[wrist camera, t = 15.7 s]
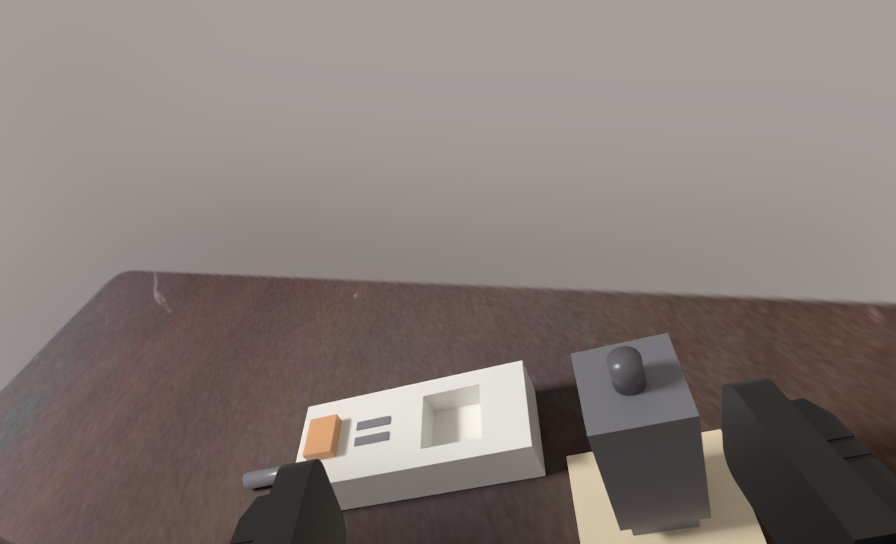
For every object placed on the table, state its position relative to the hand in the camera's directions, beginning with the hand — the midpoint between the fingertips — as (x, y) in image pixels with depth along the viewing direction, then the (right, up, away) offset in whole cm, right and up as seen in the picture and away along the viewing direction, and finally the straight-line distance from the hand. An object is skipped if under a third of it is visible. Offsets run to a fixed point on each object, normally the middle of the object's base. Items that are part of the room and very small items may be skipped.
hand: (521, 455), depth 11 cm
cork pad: (+10, -9, +20) cm, 24 cm away
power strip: (-6, -10, +29) cm, 31 cm away
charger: (+10, -9, +20) cm, 24 cm away
